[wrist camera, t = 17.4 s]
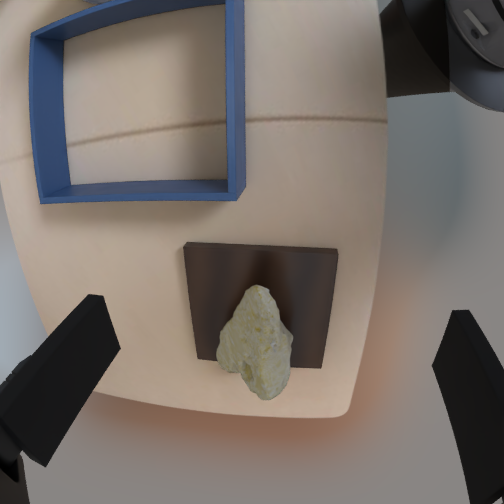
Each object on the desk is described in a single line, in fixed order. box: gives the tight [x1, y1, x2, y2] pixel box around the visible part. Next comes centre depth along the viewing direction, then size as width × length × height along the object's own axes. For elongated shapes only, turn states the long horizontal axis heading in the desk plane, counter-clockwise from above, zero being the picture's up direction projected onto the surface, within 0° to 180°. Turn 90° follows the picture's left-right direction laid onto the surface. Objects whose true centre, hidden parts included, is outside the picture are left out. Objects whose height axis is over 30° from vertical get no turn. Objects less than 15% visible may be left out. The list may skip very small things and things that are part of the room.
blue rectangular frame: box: [29, 0, 246, 204], centre depth 29 cm, size 25×22×6 cm
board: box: [183, 242, 338, 368], centre depth 41 cm, size 18×18×2 cm
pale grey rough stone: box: [216, 285, 293, 400], centre depth 38 cm, size 15×7×15 cm
